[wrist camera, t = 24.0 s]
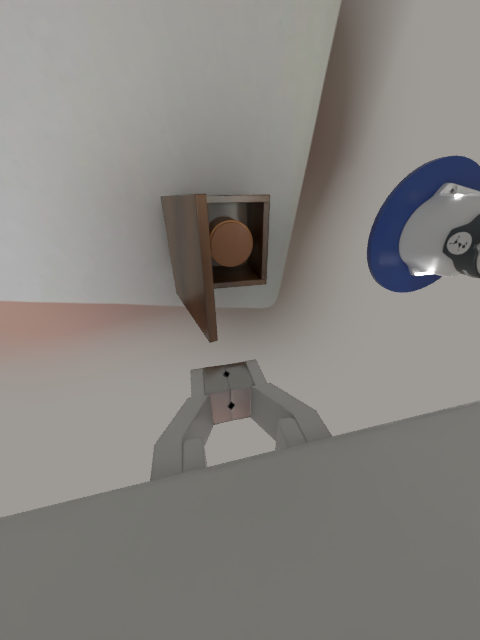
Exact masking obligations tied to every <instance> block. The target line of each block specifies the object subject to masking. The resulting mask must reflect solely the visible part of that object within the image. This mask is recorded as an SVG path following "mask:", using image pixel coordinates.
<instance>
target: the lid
mask: <svg viewBox="0 0 480 640" xmlns="http://www.w3.org/2000/svg"><path fill="white" fill-rule="evenodd" d="M161 202H162V208H163V214H164V221H165V227H166V233H167V239H168V245H169V251H170V257H171V263H172V269H173V275H174V281H175V287H176V293H177V295H178V296H179V298H180V299H181V301H182V302H183V304H184V305H185V307H186V308H187V309H188V311H189V312H190V314H191V315H192V317H193V318H194V320H195V321H196V323H197V324H198V326H199V327H200V329H201V330H202V332H203V333H204V335H205V336H206V338H207V339H208V341H209V342H214V341H217V325H216V312H215V299H214V286H213V274H212V261H211V248H210V235H209V222H208V209H207V196H206V194H189V195H175V196H161Z"/></svg>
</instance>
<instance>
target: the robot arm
mask: <svg viewBox="0 0 480 640" xmlns="http://www.w3.org/2000/svg"><path fill="white" fill-rule="evenodd" d="M399 254H400V257H401V259H402V260H403V262H404V263H406V264H407V266H408V268H409V272H410V274H411V275H413V276H419V275H428V274H435V275H439V276H443V277H451V276H455V275H458V274H460V273H461V274H465V275H467V276H470V277H475V278H480V191H477V190H473V189H470V188H467V187H464V186H460V185H457V184H454V183H444V184H443V185H442V186H441V187H440V188H439V189H438V190H437V192H436V193H435V194H434V195H433V196H432V197H431V198H430V199H429V200H427V201H426V202H424V203H423V204H422V205H421V206H419V207H418V208H417V209H416V210H415V211H414V213H413V214H412V215H411V216H410V218H409V219H408V221H407V222H406V224H405V226H404V228H403V230H402V233H401V236H400V240H399ZM202 369H203V371H202ZM190 373H191V395H192V397H190V398H188V399H187V400H186V402H185V403H184V404H183V406H182V407H181V409H180V410H179V411H178V413H177V414H176V416H175V417H174V418H173V420H172V421H171V423H170V424H169V425H168V427H167V428H166V430H165V431H164V432H163V434H162V435H161V437H160V438H159V440H158V441H157V442H156V444H155V445H154V453H153V462H152V470H151V478H150V481H149V482H145V483H141V484H136V485H132V486H128V487H124V488H120V489H116V490H112V491H108V492H104V493H100V494H96V495H92V496H87V497H84V498H80V499H75V500H71V501H67V502H63V503H59V504H55V505H51V506H47V507H43V508H38V509H34V510H30V511H26V512H22V513H18V514H14V515H10V516H6V517H1V518H0V640H480V401H476V402H472V403H468V404H464V405H460V406H456V407H452V408H448V409H443V410H439V411H435V412H431V413H427V414H423V415H419V416H415V417H411V418H407V419H402V420H398V421H394V422H390V423H386V424H382V425H378V426H374V427H369V428H366V429H362V430H357V431H353V432H349V433H345V434H341V435H337V436H333V437H332V435H331V434H330V432H329V430H328V429H327V427H326V426H325V424H324V423H323V421H322V419H321V418H320V416H319V415H318V413H317V411H316V410H314V409H313V408H311V407H309V406H308V405H306V404H304V403H302V402H301V401H299V400H298V399H296V398H294V397H293V396H291V395H289V394H288V393H286V392H284V391H283V390H281V389H279V388H278V387H276V386H275V385H273V384H271V383H267V382H266V380H265V378H264V375H263V373H262V371H261V369H260V367H259V365H258V363H257V361H256V360H249V361H245V362H239V363H233V364H227V365H221V366H213V367H206V368H200V369H193V370H191V372H190ZM248 417H251V418H252V419H253V420H254V421H255V422H256V423H257V424H258V425H259V426H260V427H261V428H263V429H264V430H265V431H266V432H267V433H268V434H269V435H270V436H271V437H272V438H273V439H274V440H275V441H276V448H275V451H272V452H268V453H263V454H259V455H255V456H251V457H247V458H243V459H239V460H235V461H231V462H227V463H222V464H218V465H215V466H210V467H207V462H206V456H205V449H204V446H205V444H206V441H207V439H208V437H209V434H210V432H211V430H212V428H213V425H215V424H219V423H223V422H228V421H231V420H237V419H243V418H248Z"/></svg>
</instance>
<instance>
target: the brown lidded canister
mask: <svg viewBox="0 0 480 640" xmlns="http://www.w3.org/2000/svg"><path fill="white" fill-rule="evenodd" d="M209 235H210V248H211V255H212V257H213V258H214V259H215V260H216V261H217V262H218V263H219V264H221V265H223V266H227V267H234V266H238V265H240V264H242V263H243V262H245V261H246V260H247V258H248V257H249V256H250V254H251V251H252V248H253V239H252V235H251V232H250V231H249V229H248V228H247V227H246V226H245V225H244V224H243V223H241V222H239V221H237V220H235V219H232V218H230V217H227V216H220V217H217V218H215V219H213V220H212V221H211V222H210V223H209Z"/></svg>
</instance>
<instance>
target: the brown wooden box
mask: <svg viewBox="0 0 480 640" xmlns="http://www.w3.org/2000/svg"><path fill="white" fill-rule="evenodd" d="M207 209H208V222H209V223H210V222H211V221H212V220H213V219H215V218H217V217H220V216H227V217H230V218H232V219H235V220H237V221H239V222H241V223H243V224H244V225H245V226H246V227H247V228H248V229H249V231H250V232H251V235H252V239H253V248H252V251H251V254H250V256H249V257H248V258H247V260H246V261H245V262H243V263H242V264H240V265H238V266H234V267H227V266H223V265H221V264H219V263H218V262H217V261H216V260H215V259H214V258H213V257H212V255H211V261H212V274H213V286H214V289H216V288H227V287H239V286H250V285H262V284H266V279H267V256H268V232H269V209H270V195H220V196H207Z"/></svg>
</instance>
